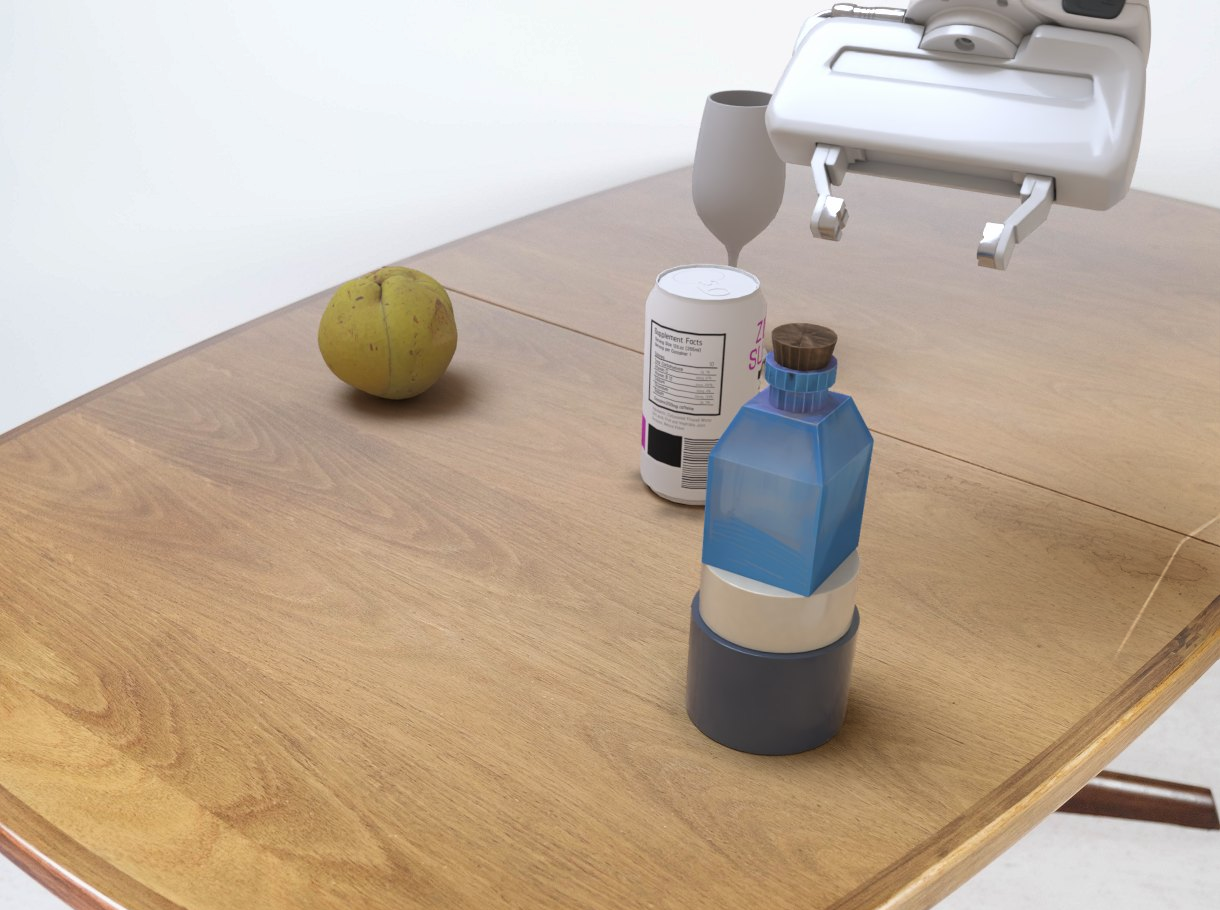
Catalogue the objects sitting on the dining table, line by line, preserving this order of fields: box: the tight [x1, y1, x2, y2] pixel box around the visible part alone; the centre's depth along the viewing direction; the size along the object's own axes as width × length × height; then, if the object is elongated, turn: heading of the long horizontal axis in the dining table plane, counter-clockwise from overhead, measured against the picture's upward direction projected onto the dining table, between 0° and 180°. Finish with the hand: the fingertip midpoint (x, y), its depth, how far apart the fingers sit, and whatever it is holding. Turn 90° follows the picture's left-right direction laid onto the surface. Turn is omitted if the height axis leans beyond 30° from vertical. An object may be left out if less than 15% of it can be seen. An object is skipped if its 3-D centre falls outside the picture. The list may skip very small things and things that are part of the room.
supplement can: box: [640, 263, 768, 506], centre depth 94 cm, size 8×8×15 cm
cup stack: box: [684, 548, 862, 756], centre depth 74 cm, size 9×9×10 cm
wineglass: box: [691, 89, 787, 363], centre depth 112 cm, size 8×8×21 cm
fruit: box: [317, 266, 459, 400], centre depth 107 cm, size 11×12×10 cm
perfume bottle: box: [700, 322, 875, 597], centre depth 67 cm, size 6×6×12 cm
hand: (904, 248), depth 72 cm, fingers open, 8 cm apart
